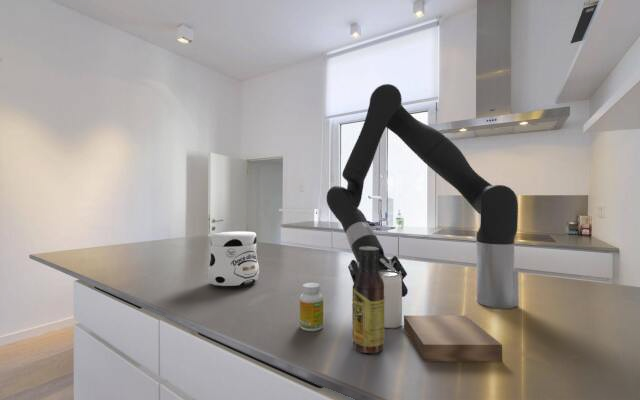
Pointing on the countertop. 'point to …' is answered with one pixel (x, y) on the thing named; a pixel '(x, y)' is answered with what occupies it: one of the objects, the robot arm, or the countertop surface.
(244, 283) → the milk container
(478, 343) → the plinth
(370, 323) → the sauce bottle
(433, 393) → the countertop surface
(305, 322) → the supplement bottle
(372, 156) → the robot arm
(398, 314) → the can
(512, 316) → the countertop surface
